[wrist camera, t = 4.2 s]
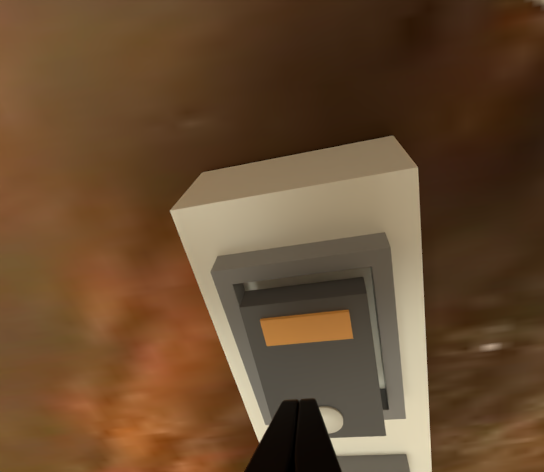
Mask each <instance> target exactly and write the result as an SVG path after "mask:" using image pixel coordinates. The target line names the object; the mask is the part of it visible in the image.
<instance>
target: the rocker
mask: <svg viewBox="0 0 544 472" xmlns="http://www.w3.org/2000/svg"><path fill="white" fill-rule="evenodd" d="M239 309H240V313H241V316H242V320H243V323H244V326H245V330H246V333H247V337H248V340H249V344H250V347H251V350H252V354H253V357H254V361H255V364H256V368H257V371H258V375H259V378H260V381H261V385H262V388H263V392H264V395H265V399H266V402H267V405H268V409H269V412H270V416H271V419H273V417H274V415H275V413H276V411H277V409H278V407H279V406H280V404H281V402H282V401H283V400H289V399H298V400H299V401H300V400H301V399H306V398H315V399H316V401H317V404H318V406H319V409H320V412H321V415H322V417H323V420H324V423H325V426H326V428H327V431H328V434H329V437H330V438H346V437H373V436H386V430H385V423H384V415H383V408H382V401H381V393H380V386H379V379H378V371H377V364H376V357H375V349H374V342H373V335H372V327H371V320H370V313H369V306H368V298H367V292H366V287H365V282H364V277H357V278H349V279H341V280H332V281H324V282H316V283H308V284H300V285H291V286H283V287H275V288H267V289H258V290H250V291H245V293H244V296H243V298H242V301H241V304H240V307H239Z"/></svg>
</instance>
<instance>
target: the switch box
mask: <svg viewBox="0 0 544 472" xmlns="http://www.w3.org/2000/svg"><path fill="white" fill-rule="evenodd" d="M170 213H171V215H172V218H173V220H174V223H175V226H176V228H177V231H178V233H179V236H180V239H181V241H182V244H183V246H184V249H185V252H186V254H187V257H188V259H189V262H190V265H191V267H192V270H193V272H194V275H195V278H196V280H197V283H198V285H199V288H200V290H201V293H202V296H203V298H204V301H205V303H206V306H207V309H208V311H209V314H210V316H211V319H212V322H213V324H214V327H215V329H216V332H217V335H218V337H219V340H220V342H221V345H222V348H223V350H224V353H225V355H226V358H227V361H228V363H229V366H230V368H231V371H232V374H233V376H234V379H235V381H236V384H237V387H238V389H239V392H240V394H241V397H242V400H243V402H244V405H245V407H246V410H247V412H248V415H249V418H250V420H251V423H252V425H253V428H254V431H255V433H256V436H257V438H258V441H259V443H260V441H261V439H262V437H263V435H264V434H265V432H266V430H267V428H268V426H269V424H270V422H271V421H272V419H271V416H270V412H269V409H268V405H267V402H266V399H265V395H264V392H263V388H262V385H261V381H260V378H259V375H258V371H257V368H256V364H255V361H254V357H253V354H252V350H251V347H250V344H249V340H248V337H247V333H246V330H245V326H244V323H243V320H242V316H241V313H240V309H239V307H240V304H241V301H242V298H243V296H244V293H245V291H250V290H258V289H267V288H275V287H283V286H291V285H300V284H308V283H316V282H324V281H332V280H341V279H349V278H357V277H364V282H365V287H366V292H367V298H368V306H369V313H370V320H371V327H372V335H373V342H374V349H375V357H376V364H377V371H378V379H379V386H380V393H381V401H382V408H383V415H384V423H385V430H386V436H373V437H346V438H330V440H331V442H332V445H333V448H334V451H335V453H336V456H337V459H338V462H339V464H340V467H341V470H342V472H432V465H431V443H430V421H429V398H428V376H427V354H426V332H425V310H424V288H423V266H422V244H421V222H420V199H419V177H418V167H417V165H416V164H415V163H414V161H413V160H412V159H411V158H410V156H409V155H408V154H407V153H406V151H405V150H404V149H403V147H402V146H401V145H400V144H399V142H398V141H397V140H396V139H395V137H394V136H388V137H382V138H377V139H372V140H367V141H362V142H357V143H351V144H346V145H341V146H336V147H331V148H326V149H320V150H315V151H310V152H305V153H300V154H295V155H290V156H284V157H279V158H274V159H269V160H264V161H259V162H253V163H248V164H243V165H238V166H233V167H228V168H222V169H217V170H212V171H207V172H202V173H201V174H200V176H199V177H198V178H197V179H196V180H195V181H194V183H193V184H192V185H191V186H190V187H189V189H188V190H187V191H186V192H185V193H184V194H183V196H182V197H181V198H180V199H179V200H178V202H177V203H176V204H175V205H174V206H173V207H172V209H171V210H170Z"/></svg>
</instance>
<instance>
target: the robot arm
mask: <svg viewBox="0 0 544 472" xmlns="http://www.w3.org/2000/svg"><path fill="white" fill-rule="evenodd" d="M244 472H342V470H341V467H340V464H339V462H338V459H337V456H336V453H335V451H334V448H333V445H332V442H331V440H330V437H329V434H328V431H327V428H326V426H325V423H324V420H323V417H322V415H321V412H320V409H319V406H318V404H317V401H316V399H315V398H306V399H301V400H300V401H299V400H298V399H289V400H283V401H282V402H281V404H280V406H279V407H278V409H277V411H276V413H275V415H274V417H273V419H272V421H271V422H270V424H269V426H268V428H267V430H266V432H265V434H264V435H263V437H262V439H261V441H260V443H259V445H258V447H257V449H256V450H255V452H254V454H253V456H252V458H251V460H250V462H249V463H248V465H247V467H246V469H245V471H244Z"/></svg>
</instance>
